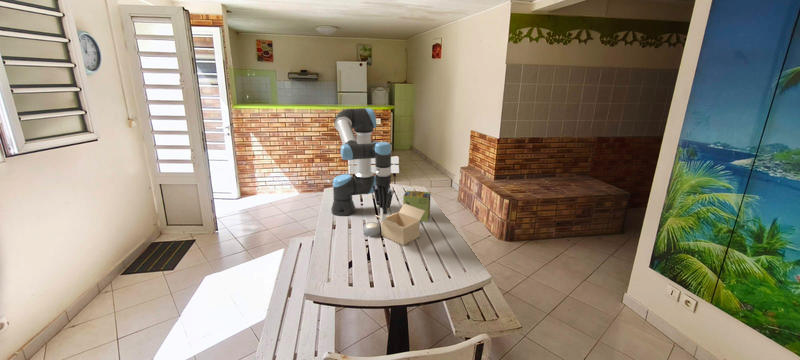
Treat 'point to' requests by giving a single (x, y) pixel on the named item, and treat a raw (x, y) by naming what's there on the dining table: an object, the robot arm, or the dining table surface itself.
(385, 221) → the flap near
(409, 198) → the protein box
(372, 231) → the push tap light
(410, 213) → the flap far
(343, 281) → the dining table surface
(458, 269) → the dining table surface
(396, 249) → the dining table surface
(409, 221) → the carton
